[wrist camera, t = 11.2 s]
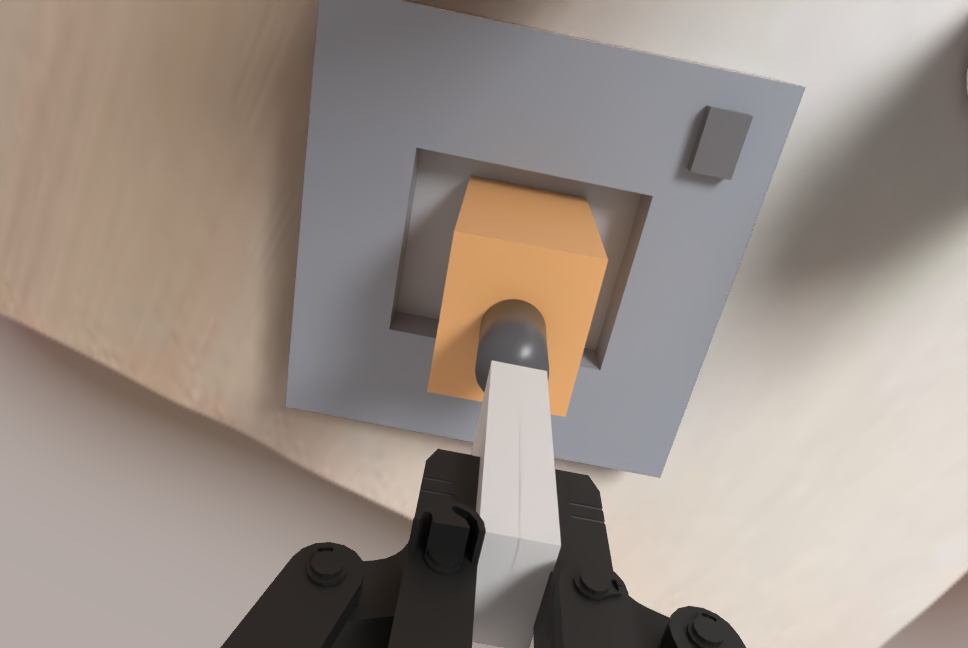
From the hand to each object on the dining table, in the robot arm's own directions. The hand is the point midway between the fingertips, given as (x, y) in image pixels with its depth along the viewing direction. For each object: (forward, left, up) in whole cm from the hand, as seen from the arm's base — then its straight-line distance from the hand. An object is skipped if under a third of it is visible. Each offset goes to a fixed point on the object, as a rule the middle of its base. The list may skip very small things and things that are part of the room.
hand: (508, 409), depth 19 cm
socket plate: (0, 0, -14) cm, 14 cm away
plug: (0, 0, -13) cm, 13 cm away
